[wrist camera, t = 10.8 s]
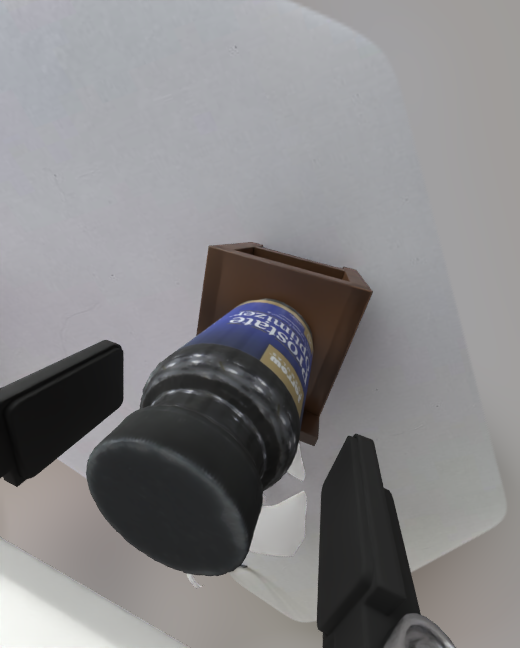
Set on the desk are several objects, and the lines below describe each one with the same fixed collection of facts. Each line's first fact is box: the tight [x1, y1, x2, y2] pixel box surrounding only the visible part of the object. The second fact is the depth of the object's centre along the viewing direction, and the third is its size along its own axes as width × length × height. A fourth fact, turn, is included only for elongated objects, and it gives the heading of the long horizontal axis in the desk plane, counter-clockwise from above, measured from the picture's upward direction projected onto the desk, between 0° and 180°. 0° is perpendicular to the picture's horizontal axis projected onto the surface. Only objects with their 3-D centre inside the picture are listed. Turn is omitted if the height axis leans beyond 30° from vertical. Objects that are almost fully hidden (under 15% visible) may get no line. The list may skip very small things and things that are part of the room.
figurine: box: [186, 443, 307, 588], centre depth 24 cm, size 16×11×20 cm
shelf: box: [196, 242, 373, 446], centre depth 19 cm, size 10×10×11 cm
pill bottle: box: [86, 298, 313, 576], centre depth 11 cm, size 6×6×11 cm
